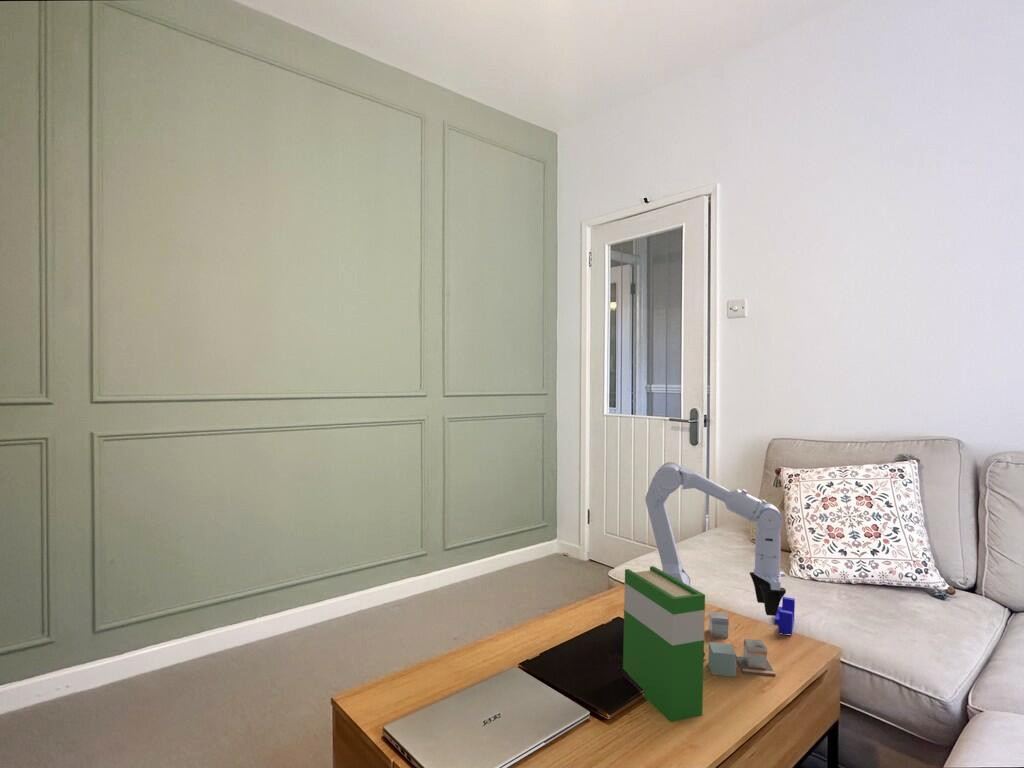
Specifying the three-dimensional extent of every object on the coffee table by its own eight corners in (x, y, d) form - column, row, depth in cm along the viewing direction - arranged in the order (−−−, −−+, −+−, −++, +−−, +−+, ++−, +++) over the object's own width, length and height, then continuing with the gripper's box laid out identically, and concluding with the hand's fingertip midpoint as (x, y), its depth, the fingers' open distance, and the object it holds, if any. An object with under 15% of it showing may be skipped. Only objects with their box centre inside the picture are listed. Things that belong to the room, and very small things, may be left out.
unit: (712, 674, 128) (712, 652, 128) (708, 662, 133) (708, 641, 133) (735, 676, 127) (736, 654, 127) (730, 664, 133) (730, 643, 133)
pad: (742, 672, 129) (742, 670, 129) (735, 657, 136) (735, 655, 136) (775, 675, 128) (775, 673, 128) (766, 660, 135) (766, 658, 135)
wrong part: (711, 637, 147) (712, 617, 147) (708, 630, 151) (709, 611, 151) (728, 638, 146) (728, 619, 146) (724, 631, 150) (725, 612, 150)
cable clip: (776, 616, 161) (777, 595, 161) (794, 620, 158) (794, 598, 158) (772, 632, 150) (773, 610, 150) (791, 636, 148) (792, 613, 148)
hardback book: (622, 676, 127) (625, 569, 126) (651, 671, 129) (653, 566, 129) (670, 722, 110) (673, 599, 110) (702, 715, 113) (705, 594, 112)
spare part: (766, 670, 130) (767, 648, 130) (747, 668, 130) (748, 646, 130) (761, 661, 134) (762, 640, 134) (743, 659, 134) (743, 638, 134)
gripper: (794, 564, 133) (793, 622, 133) (775, 546, 147) (774, 598, 147) (762, 562, 134) (761, 619, 134) (747, 544, 148) (745, 596, 149)
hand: (766, 608), depth 141 cm, fingers open, 7 cm apart
